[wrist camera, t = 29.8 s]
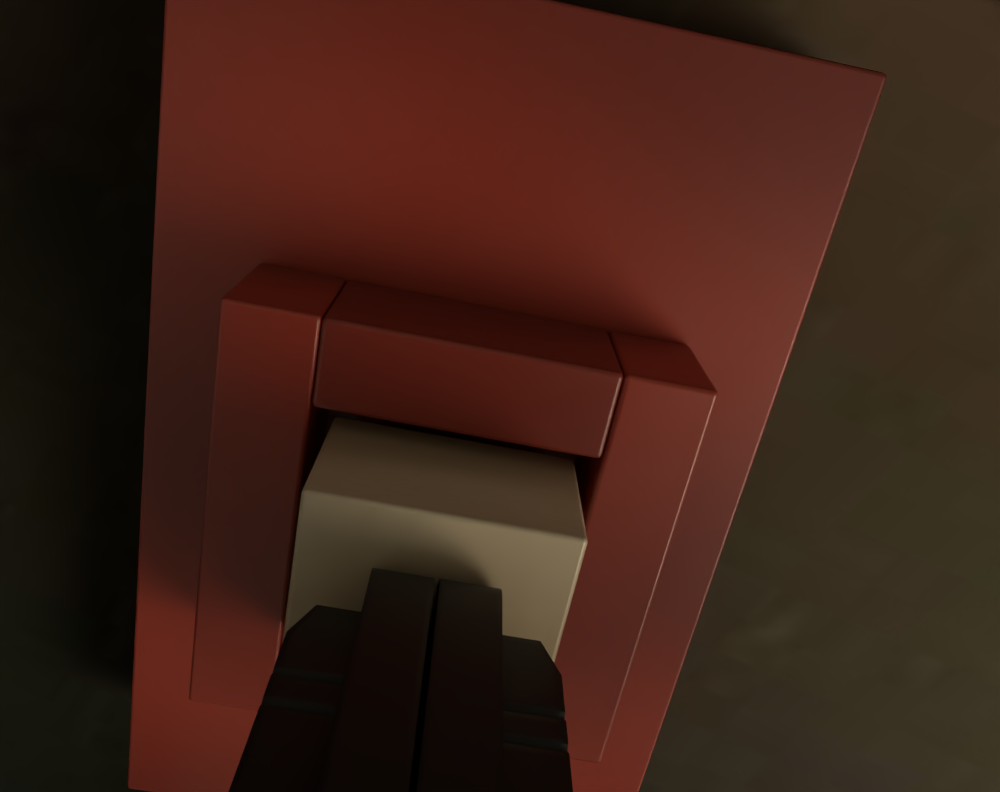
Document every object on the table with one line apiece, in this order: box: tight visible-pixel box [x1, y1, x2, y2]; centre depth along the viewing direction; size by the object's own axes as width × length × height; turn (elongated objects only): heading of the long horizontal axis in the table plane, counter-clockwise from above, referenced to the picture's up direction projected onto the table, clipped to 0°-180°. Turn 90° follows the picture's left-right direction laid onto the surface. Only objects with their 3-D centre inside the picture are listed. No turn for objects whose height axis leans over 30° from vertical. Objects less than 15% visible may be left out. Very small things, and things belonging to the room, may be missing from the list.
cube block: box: [282, 417, 588, 662], centre depth 11 cm, size 3×3×2 cm
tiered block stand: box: [128, 0, 886, 792], centre depth 13 cm, size 14×9×4 cm, turn 169°
